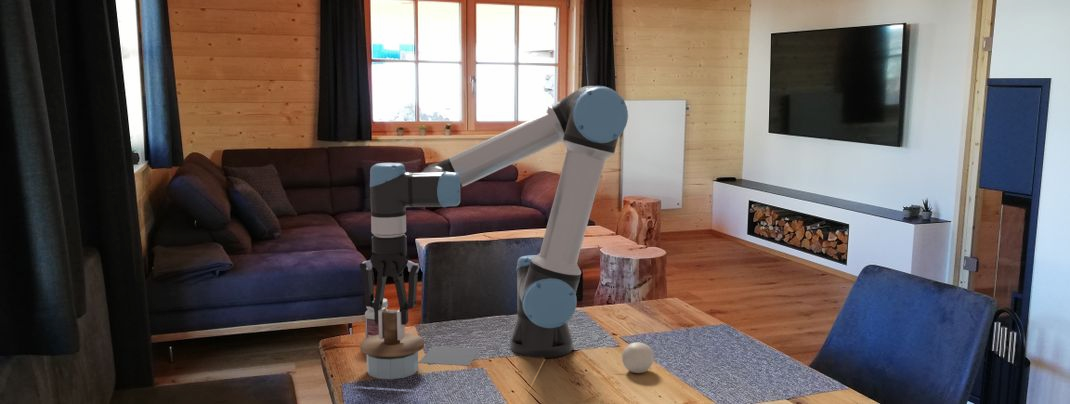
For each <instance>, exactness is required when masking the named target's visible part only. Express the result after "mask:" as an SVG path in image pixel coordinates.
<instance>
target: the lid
mask: <svg viewBox="0 0 1070 404" xmlns="http://www.w3.org/2000/svg"><path fill="white" fill-rule="evenodd" d="M398 310H399V309H388V310H386V311H384V312H383V325H384V338H383V339H379V335H375V336H371V337H368V338H366V337H365V339H362V340H361V342H360V343H359V344H360V346H359V348H360V349H359V350H360V351H361V352H362V353H363V354H364V355H366V354H367V355H370V356H376V357H398V356H405V355H409V354H413V353H416V352H418V353H419V352H420V351H421V350H423V349H424V347H425V339H424V338H423V337H422V336H420V335H416V334H413V333H407V332H405V337H404V338H403V339H402V340H398V337H397V311H398Z"/></svg>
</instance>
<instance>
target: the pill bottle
mask: <svg viewBox="0 0 1070 404" xmlns="http://www.w3.org/2000/svg"><path fill="white" fill-rule="evenodd" d="M374 299H375V297H374ZM388 303H389V302H388V298H385V297H383V306H382V307H386V310H389V309H387V308H388V307H389V304H388ZM365 308H366V309H367V310H366V311H365V313H364V326H365V327H364V329H365V330H364V331H365V334H364V336H365V339H366V338H368V337H371V336H375V335H379V323H375V318H374V309H373V308H372V307H367V306H366V305H365Z"/></svg>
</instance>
